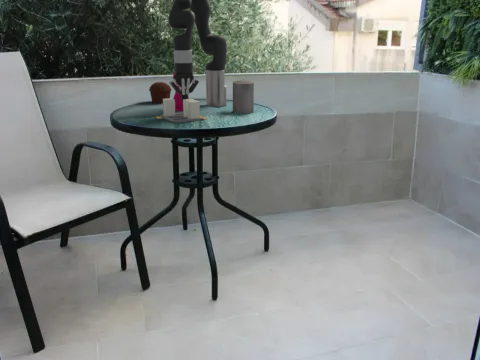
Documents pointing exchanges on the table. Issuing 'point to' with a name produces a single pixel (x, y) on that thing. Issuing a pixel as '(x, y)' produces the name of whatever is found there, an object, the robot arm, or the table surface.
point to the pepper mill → (178, 99)
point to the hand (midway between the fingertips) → (184, 103)
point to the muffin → (159, 92)
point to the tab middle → (186, 106)
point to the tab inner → (169, 107)
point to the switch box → (180, 118)
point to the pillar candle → (243, 96)
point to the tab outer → (193, 109)
